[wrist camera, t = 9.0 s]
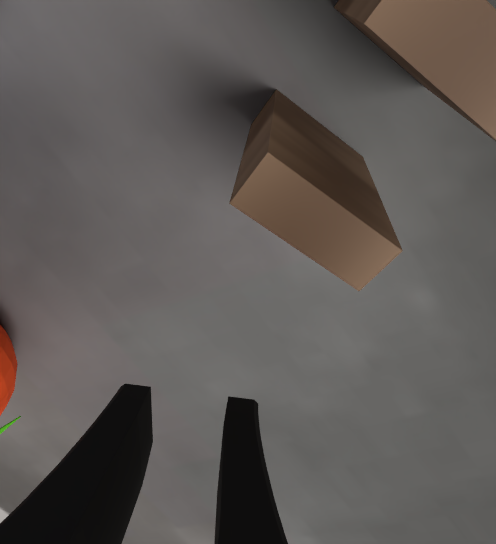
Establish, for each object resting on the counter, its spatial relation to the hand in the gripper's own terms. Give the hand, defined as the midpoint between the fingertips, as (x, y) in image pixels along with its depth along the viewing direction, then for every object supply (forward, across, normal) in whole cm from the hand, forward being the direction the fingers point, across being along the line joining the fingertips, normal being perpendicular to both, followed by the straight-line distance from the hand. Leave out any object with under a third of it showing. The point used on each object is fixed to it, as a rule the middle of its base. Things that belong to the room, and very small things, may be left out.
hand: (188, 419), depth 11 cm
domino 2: (+9, -5, -8) cm, 13 cm away
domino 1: (+9, -2, -4) cm, 11 cm away
